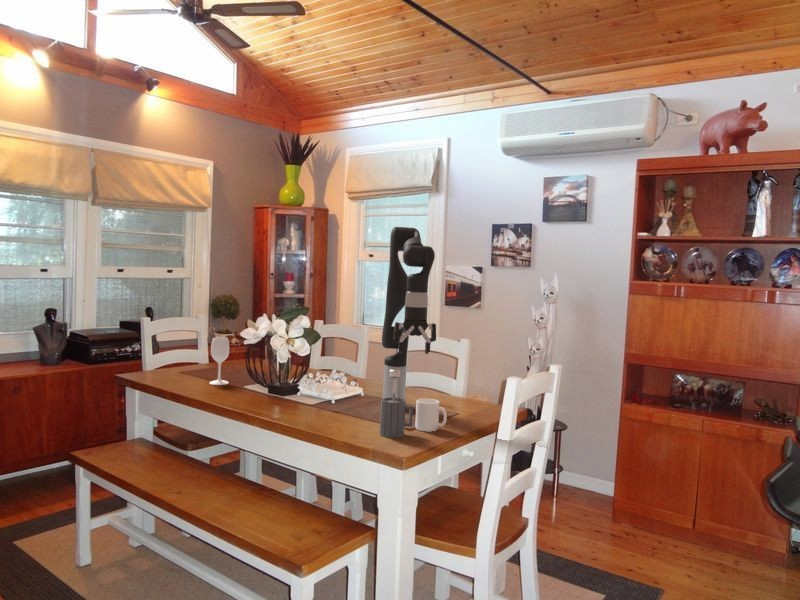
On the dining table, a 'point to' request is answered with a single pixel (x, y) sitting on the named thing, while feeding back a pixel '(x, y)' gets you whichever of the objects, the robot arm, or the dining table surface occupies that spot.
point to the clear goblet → (394, 382)
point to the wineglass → (219, 356)
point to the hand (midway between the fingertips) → (413, 353)
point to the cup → (428, 415)
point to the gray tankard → (394, 417)
